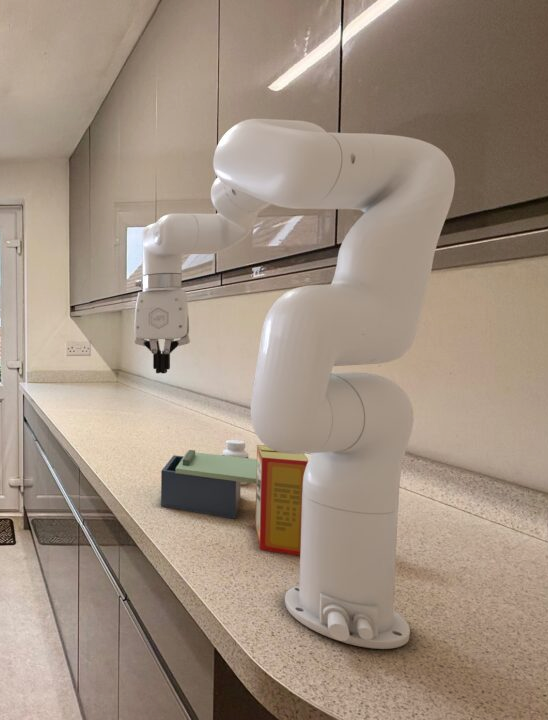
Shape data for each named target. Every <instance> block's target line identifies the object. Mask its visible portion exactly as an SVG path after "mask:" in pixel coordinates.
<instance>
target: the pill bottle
mask: <svg viewBox="0 0 548 720" xmlns="http://www.w3.org/2000/svg"><path fill="white" fill-rule="evenodd" d="M245 449H246V441H244V440H239V439H227V440H226V441H225V449H223V450H222V455H223V456H232V457H241V458H249V453H248V452H247V451H246V450H245ZM244 485H248V483H246V482H241V486H244Z"/></svg>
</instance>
